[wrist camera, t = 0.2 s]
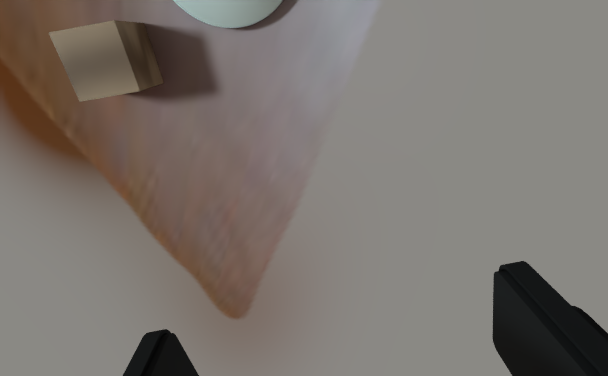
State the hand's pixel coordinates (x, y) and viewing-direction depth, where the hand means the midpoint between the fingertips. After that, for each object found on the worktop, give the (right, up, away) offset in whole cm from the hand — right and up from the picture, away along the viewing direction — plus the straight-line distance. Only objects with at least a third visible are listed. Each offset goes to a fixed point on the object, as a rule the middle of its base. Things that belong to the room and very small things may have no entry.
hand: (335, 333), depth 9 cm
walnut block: (-20, +18, +25) cm, 37 cm away
